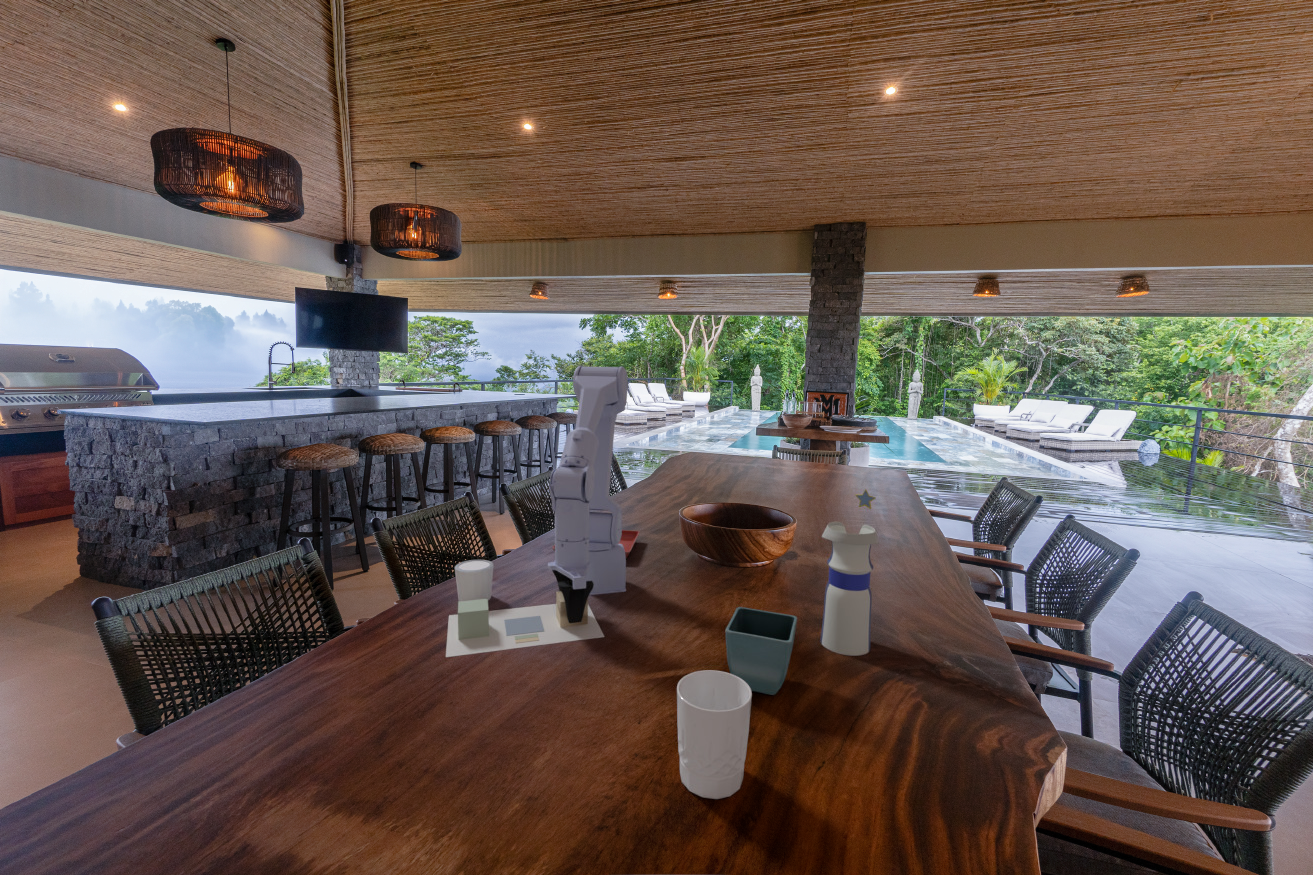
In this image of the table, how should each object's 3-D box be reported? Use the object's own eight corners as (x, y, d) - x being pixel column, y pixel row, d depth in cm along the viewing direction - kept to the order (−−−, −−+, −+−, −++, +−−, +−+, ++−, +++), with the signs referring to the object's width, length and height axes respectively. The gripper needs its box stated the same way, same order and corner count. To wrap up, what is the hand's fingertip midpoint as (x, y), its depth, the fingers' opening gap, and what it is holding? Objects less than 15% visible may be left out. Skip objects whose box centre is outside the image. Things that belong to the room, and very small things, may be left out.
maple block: (582, 612, 100) (582, 588, 100) (587, 624, 96) (587, 599, 95) (556, 615, 99) (556, 591, 98) (560, 627, 94) (560, 601, 94)
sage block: (487, 623, 95) (487, 598, 95) (488, 635, 91) (488, 609, 90) (458, 627, 94) (458, 601, 93) (458, 639, 89) (457, 612, 89)
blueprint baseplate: (586, 603, 106) (586, 600, 106) (604, 640, 92) (604, 636, 91) (448, 618, 98) (448, 614, 98) (445, 660, 84) (445, 656, 84)
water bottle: (817, 628, 98) (826, 484, 95) (871, 636, 95) (881, 489, 92) (814, 649, 90) (823, 494, 87) (872, 659, 87) (883, 499, 84)
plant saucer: (571, 539, 147) (571, 526, 147) (640, 542, 145) (640, 529, 145) (551, 562, 129) (551, 547, 129) (629, 566, 127) (630, 552, 127)
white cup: (670, 753, 65) (672, 670, 64) (738, 750, 65) (742, 668, 64) (679, 806, 57) (681, 712, 56) (756, 802, 58) (760, 710, 57)
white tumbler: (499, 595, 109) (499, 559, 108) (485, 610, 102) (484, 572, 101) (465, 593, 109) (464, 558, 109) (448, 607, 103) (447, 570, 102)
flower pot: (794, 674, 82) (798, 614, 81) (788, 707, 74) (791, 642, 73) (735, 662, 85) (737, 605, 84) (722, 693, 77) (724, 630, 76)
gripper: (542, 527, 101) (542, 600, 103) (554, 552, 88) (554, 636, 89) (581, 524, 103) (581, 596, 105) (599, 548, 90) (598, 630, 91)
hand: (571, 614), depth 97 cm, fingers open, 5 cm apart
